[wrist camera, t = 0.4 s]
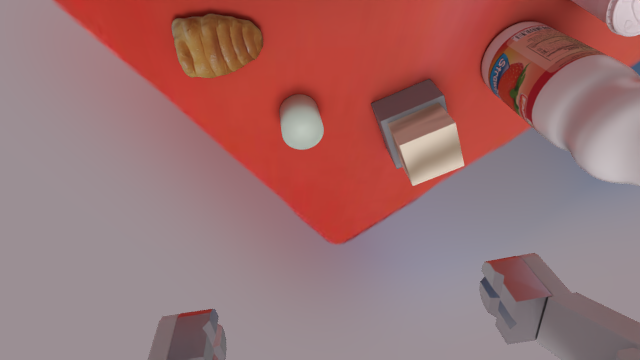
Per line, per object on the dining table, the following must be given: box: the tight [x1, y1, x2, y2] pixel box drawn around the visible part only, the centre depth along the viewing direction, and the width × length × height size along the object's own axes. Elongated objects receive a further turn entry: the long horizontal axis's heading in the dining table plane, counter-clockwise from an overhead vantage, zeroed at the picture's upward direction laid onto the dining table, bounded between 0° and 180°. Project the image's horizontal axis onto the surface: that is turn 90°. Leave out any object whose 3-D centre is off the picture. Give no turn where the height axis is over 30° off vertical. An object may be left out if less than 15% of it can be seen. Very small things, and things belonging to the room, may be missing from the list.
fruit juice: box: [481, 22, 640, 186], centre depth 38 cm, size 9×9×28 cm
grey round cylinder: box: [279, 94, 324, 149], centre depth 48 cm, size 5×5×5 cm
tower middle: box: [388, 102, 464, 186], centre depth 47 cm, size 6×6×5 cm
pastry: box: [172, 14, 263, 78], centre depth 42 cm, size 9×7×4 cm
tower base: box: [371, 79, 448, 169], centre depth 51 cm, size 8×8×5 cm
